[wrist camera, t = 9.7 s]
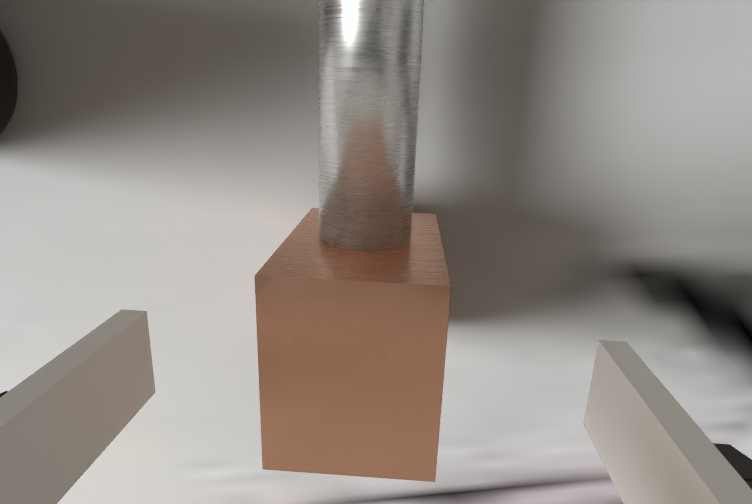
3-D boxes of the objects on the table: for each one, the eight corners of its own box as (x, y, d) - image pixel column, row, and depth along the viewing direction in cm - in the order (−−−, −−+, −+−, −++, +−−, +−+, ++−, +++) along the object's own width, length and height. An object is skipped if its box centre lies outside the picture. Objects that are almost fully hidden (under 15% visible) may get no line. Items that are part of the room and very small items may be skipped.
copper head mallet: (309, -296, 16) (216, -656, 8) (471, -297, 16) (530, -670, 8) (312, 341, 22) (262, 468, 15) (426, 348, 22) (435, 481, 15)
